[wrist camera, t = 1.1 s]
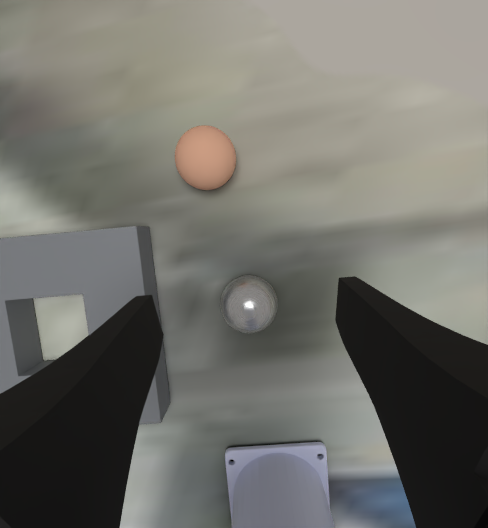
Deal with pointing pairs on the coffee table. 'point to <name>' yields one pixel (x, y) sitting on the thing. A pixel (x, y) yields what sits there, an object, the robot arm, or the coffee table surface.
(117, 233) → the grey square frame
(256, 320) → the steel ball
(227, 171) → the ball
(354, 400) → the coffee table surface
